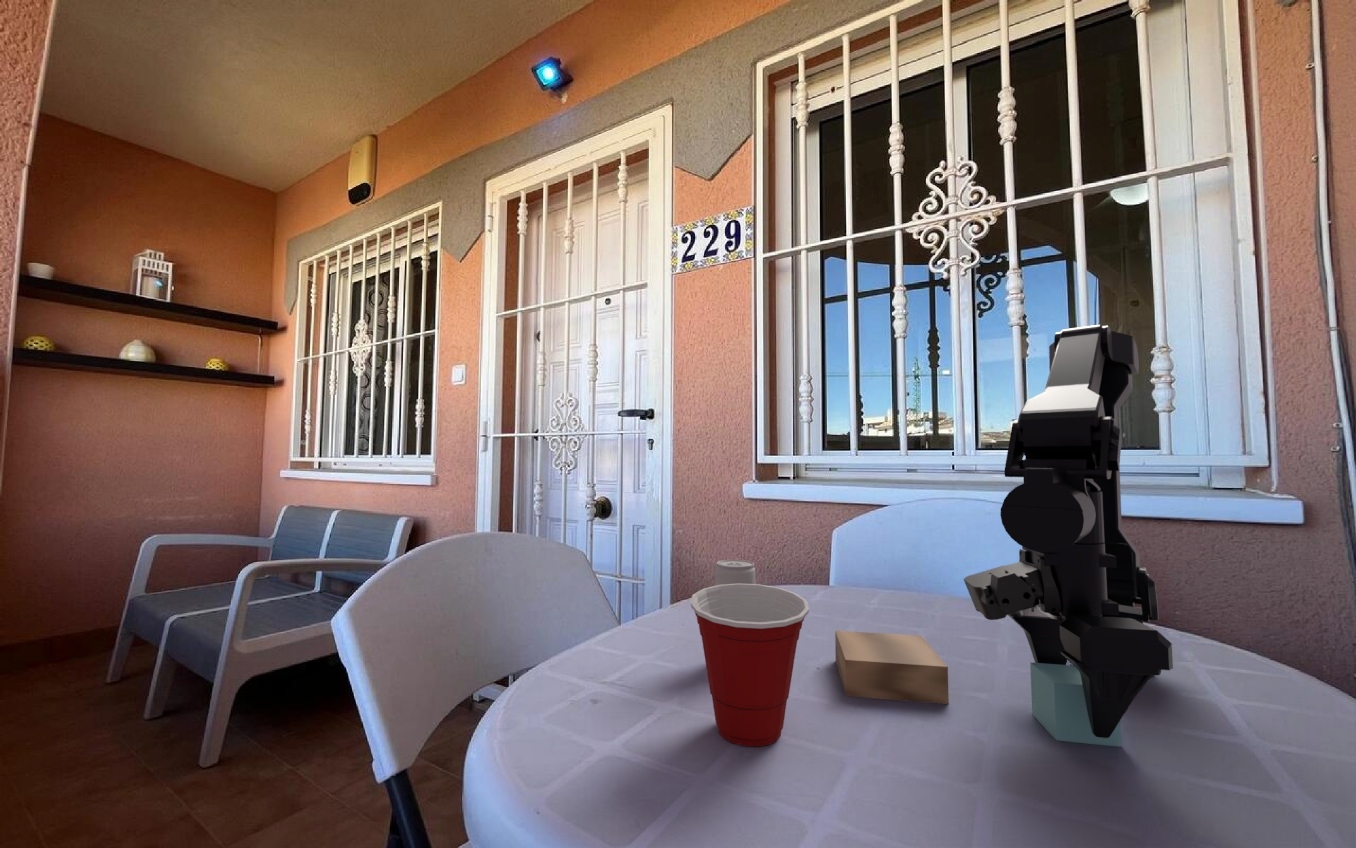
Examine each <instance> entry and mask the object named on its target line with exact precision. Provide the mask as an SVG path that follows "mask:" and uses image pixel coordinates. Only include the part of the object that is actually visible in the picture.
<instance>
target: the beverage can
mask: <svg viewBox="0 0 1356 848" xmlns="http://www.w3.org/2000/svg"><path fill="white" fill-rule="evenodd" d="M738 583H740V584H756V568H755V563H754V561H750V560H745V559H723V560H719V561H717V562H716V566H715V586H717V585H725V584H738Z"/></svg>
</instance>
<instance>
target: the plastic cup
mask: <svg viewBox="0 0 1356 848" xmlns="http://www.w3.org/2000/svg"><path fill="white" fill-rule="evenodd" d="M689 604H690V606H691V609H692V610H693V611H694V613H695V617H696V620H697V621H696V622H697V624H698V628H699V634H700V636H701V641H702V649H703V654H704V660H705V662H704V663H705V666H706V667H705V669H706V673H707V674H706V675H707V680H708V681H707V682H708V687H709V693H710V695H711V699H712V706H713V712H714V718H715V719H714V720H715V725H716V726H717V732H719V734H720V735H721V737H722V738H724V740H727V741H728V742H730V743H732V744H735V745H739V746H744V747H753V748H755V747H757V748H758V747H763V746H764V747H765V746H768V745H771V744H773V743H775V742H777V741H778V740H779V739H780V737H781V735H782V734H781V733H782V730H783V729H784V723H785V717H786V711H787V710H786V709H787V704H788V703H787V701H788V699H789V694H790V690H791V683H792V676H793V670H794V664H795V657H796V651H797V644H798V641H799V639H800V633H801V629H802V627H803V622H804V621H805V618H806V617H807V615H808V614H809V612H810V608H811V607H810V605H809V603H808V600H807V599H805V598H804V597H802V596H801V595H800V594H798V593H796V592H793V591H790V590H787V589H785V588H781V587H776V586H771V585H765V584H759V583H755V584H740V583H738V584H725V585H717V586H716V585H713V586H709V587H705V588H702V589H700V590H698V591H697V592H695V593H694V594H693V593H692V595H691V598H690V601H689Z"/></svg>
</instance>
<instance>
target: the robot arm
mask: <svg viewBox="0 0 1356 848" xmlns="http://www.w3.org/2000/svg"><path fill="white" fill-rule="evenodd" d="M1048 351H1049V352H1048V357H1049V358H1048V359H1049V367H1048V368H1049V370H1048V371H1049V374H1048V377H1047V380H1046V384H1045V388H1044V390H1043V391H1042V392H1041V393H1039V394H1037V395H1035V396H1033V397H1031V398H1029V399H1027V401H1025V403H1024V404H1023V407H1022V408H1021V410H1020V412H1019V414H1018V419H1016V420H1015V419H1014V420H1013V422H1012V425H1011V428H1010V435H1009V440H1008V441H1009V442H1008V447H1007V454H1006V460H1005V465H1004V477H1005V478H1023V483H1021V484H1019V485H1017V486H1015V487H1014V488H1013V489H1011V490H1010V491H1009V492H1008V493H1007V495H1006V496H1005V498H1004V499H1003V502H1002V506H1001V507H1000V520H1001V523H1002V526H1003V527H1004V530H1005V532H1006V533H1007V535H1008V536H1009V537H1010V538H1011V539H1012V540H1013V541H1014V542H1015V543H1016V544H1018V545H1019V546H1021V547H1022V548H1021V549H1019V552H1018V556H1019V560H1018V561H1019V562H1014V563H1010V564H1007V565H1006V564H1004V565H1000V566H997V567H994V568H993V567H992V568H991V569H988V570H983V571H980V572H976V573H973V574H970V575H968V576H965V577H964V578H963V582H964V584H965V586H966V589H967V591H968V594H969V596H970V598H971V601H972V603H973V606H974V609H975V611H977V612H979V613H980V614H982V615H983V617H984V618H985V619H986V620H988V621H995V620H996V621H997V620H1002V619H1004V618H1006V617H1007V616H1009V618H1010V619H1011V620H1013V621H1014V623H1016V624H1017V625H1018V626H1019V628H1021V629H1022V630H1023V632H1024V634H1025V636H1026V639H1027V643H1028V645H1029V649H1030V651H1031V653H1032V657H1033V660H1034V663H1045V664H1059V665H1067V662H1069V663H1070V665H1073V666H1075V667H1076V668H1077V669H1078V670H1079V672H1080V675H1081V680H1082V685H1083V691H1084V696H1085V701H1086V707H1087V712H1088V717H1089V721H1090V725H1091V730H1092V733H1093V734H1094V735H1095V736H1096V737H1100V738H1109V737H1110V736H1111V734H1112V733H1113V731H1114V730H1115V728H1116V726H1117V725H1118V723H1119V722H1121V721H1122V718H1123V717H1124V716H1125V714H1126V712H1127V711H1128V709H1129V707H1130V706H1131V704H1132V703H1133V701H1134V699H1135V698H1136V697H1137V695H1138V694H1139V693H1140V692H1141V690H1142V689H1143V688H1144V687H1145V685H1147V683H1148V682H1149V680H1150V679H1151V678H1152V676H1160V675H1161V674H1162V671H1171V670H1172V669H1174V663H1173V659H1174V658H1173V646H1172V645H1173V644H1172V642H1171V641H1169V640H1168V639H1167V638H1166V637H1165V636H1164V635H1163V634H1162V633H1161V632H1160V631H1158V630H1157V629H1156V628H1152V627H1151V626H1149V625H1147V624H1144V622H1145V623H1149V622H1150V621H1159V604H1158V595H1157V594H1158V593H1157V588H1156V586H1157V585H1156V581H1154V579H1152V577H1150V573H1149V572H1148V568H1147V567H1142V566H1141V554H1140V552H1139V550H1138V549H1137V547H1136V546H1135V545H1134V543H1133V542H1132V541H1131V539H1130V538H1129V537H1128V535H1127V534H1126V533H1125V532H1124V530H1123V523H1122V521H1123V520H1122V499H1121V498H1122V496H1121V472H1120V471H1121V470H1120V468H1121V467H1120V464H1121V454H1122V453H1121V451H1122V450H1121V449H1122V440H1123V439H1122V437H1123V436H1122V429H1121V428H1120V427H1119V419H1118V417H1119V415H1118V413H1119V412H1118V411H1119V410H1120V409H1121V408H1122V405H1123V404H1124V403H1125V401H1126V400H1127V399H1128V398H1129V396H1130V395H1131V393H1132V392H1133V388H1134V387H1133V375H1135V374H1139V373H1140V372H1139V371H1140V370H1139V369H1140V363H1139V362H1140V360H1139V352H1138V351H1139V350H1138V345H1137V343H1136V340H1135V337H1134V336H1133V335H1129V334H1125V333H1120V332H1117V331H1113V330H1111V328H1110V326H1109V325H1103V324H1095V325H1094V324H1093V325H1086V326H1079V327H1071V328H1065V329H1064V328H1063V329H1062V330H1061V331H1057V332H1055V334H1054V340H1053V343H1051V344H1050V345H1049V347H1048ZM1024 457H1025V459H1024ZM1136 605H1140V606H1136Z"/></svg>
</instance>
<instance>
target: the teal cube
mask: <svg viewBox="0 0 1356 848" xmlns="http://www.w3.org/2000/svg"><path fill="white" fill-rule="evenodd" d="M1029 666H1030V667H1029V668H1030V691H1031V713H1032V716H1033V717H1034V718H1035V719H1036V720H1037V721H1038V722H1039V723H1040V724H1041V725H1042V727H1043V728H1044V729H1045V730H1046V731H1047V732H1048V733H1049V734H1050V735H1051V737H1053V739H1054V740H1056V741H1060V742H1069V743H1080V744H1090V745H1097V746H1098V745H1099V746H1110V747H1119V748H1120V747H1123V746H1122V745H1123V744H1122V743H1123V742H1122V726H1121V721H1120V722H1119V723H1118V725H1117V726H1116V728H1115V730H1114V731H1113V733H1112V734H1111V736H1110V737H1109V738H1100V737H1096V736H1095V735H1094V734H1093V733H1092V730H1091V725H1090V721H1089V717H1088V712H1087V707H1086V701H1085V696H1084V691H1083V685H1082V680H1081V675H1080V672H1079V670H1078V669H1077V668H1076V667H1075V666H1074V665H1073V664H1069V665H1068V664H1066V665H1059V664H1045V663H1035V662H1030V665H1029Z"/></svg>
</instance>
